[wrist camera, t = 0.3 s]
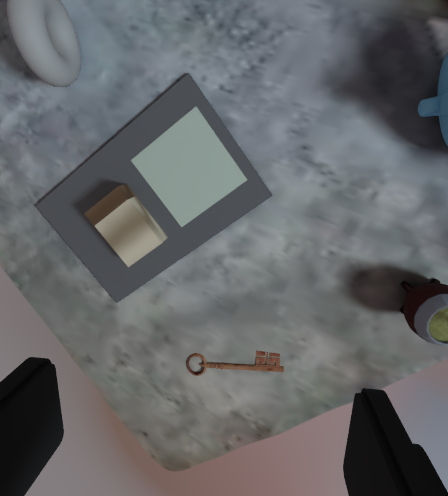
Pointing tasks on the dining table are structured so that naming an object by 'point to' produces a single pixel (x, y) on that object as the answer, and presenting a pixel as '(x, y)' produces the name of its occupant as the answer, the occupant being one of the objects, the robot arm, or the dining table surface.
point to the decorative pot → (438, 102)
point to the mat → (159, 187)
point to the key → (242, 366)
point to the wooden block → (126, 224)
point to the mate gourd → (427, 311)
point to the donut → (46, 39)
